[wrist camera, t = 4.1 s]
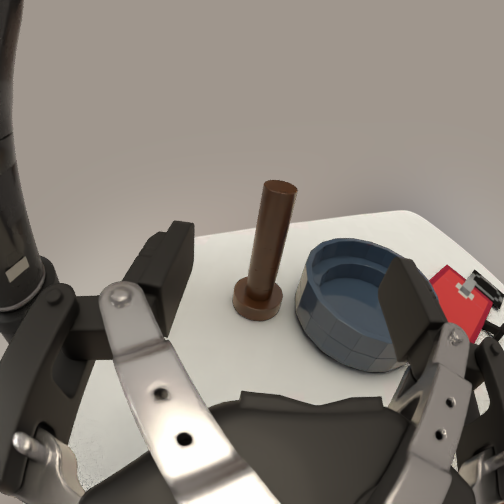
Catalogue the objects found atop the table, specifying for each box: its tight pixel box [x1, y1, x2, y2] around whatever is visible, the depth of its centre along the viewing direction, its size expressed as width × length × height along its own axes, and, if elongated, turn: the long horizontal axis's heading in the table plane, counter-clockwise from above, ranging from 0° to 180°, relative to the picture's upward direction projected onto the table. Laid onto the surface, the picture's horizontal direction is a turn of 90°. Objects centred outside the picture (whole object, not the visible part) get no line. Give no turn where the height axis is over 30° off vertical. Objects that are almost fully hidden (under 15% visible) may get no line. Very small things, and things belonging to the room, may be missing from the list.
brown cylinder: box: [233, 180, 298, 321], centre depth 24 cm, size 5×5×13 cm
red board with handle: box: [429, 265, 504, 343], centre depth 30 cm, size 30×3×15 cm
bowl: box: [295, 238, 439, 372], centre depth 27 cm, size 15×15×5 cm
